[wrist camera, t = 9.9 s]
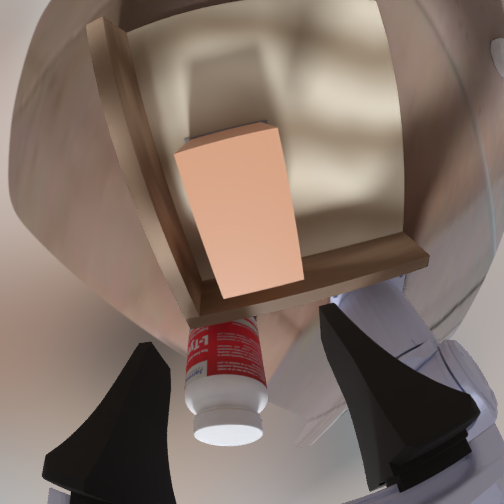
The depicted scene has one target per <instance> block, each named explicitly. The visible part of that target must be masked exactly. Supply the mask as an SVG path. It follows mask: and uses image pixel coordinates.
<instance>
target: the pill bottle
mask: <svg viewBox="0 0 504 504" xmlns="http://www.w3.org/2000/svg"><path fill="white" fill-rule="evenodd" d="M267 400H268V392H267V385H266V379H265V373H264V367H263V360H262V354H261V348H260V341H259V335H258V328H257V324H256V321H255V319H254V317H249V318H244V319H240V320H235V321H230V322H225V323H220V324H215V325H210V326H205V327H200V328H195V329H190V331H189V341H188V353H187V366H186V379H185V402H186V405H187V407H188V408H189V409H190V411H191V412H192V413H193V414H195V417H194V436H195V438H196V439H198V440H199V441H201V442H204V443H207V444H212V445H218V446H237V445H244V444H248V443H251V442H254V441H256V440H258V439H259V438H260V437H261V436H262V435H263V428H262V419H261V417H260V414H259V413H260V412H261V411H262V410H263V409H264V407H265V406H266V403H267Z"/></svg>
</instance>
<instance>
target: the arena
mask: <svg viewBox="0 0 504 504" xmlns="http://www.w3.org/2000/svg"><path fill="white" fill-rule="evenodd" d="M86 29H87V35H88V41H89V47H90V53H91V58H92V63H93V68H94V72H95V77H96V81H97V86H98V90H99V94H100V98H101V102H102V106H103V110H104V114H105V117H106V121H107V124H108V128H109V131H110V135H111V138H112V141H113V144H114V148H115V151H116V154H117V157H118V160H119V163H120V166H121V169H122V172H123V175H124V178H125V181H126V184H127V186H128V189H129V192H130V195H131V197H132V200H133V203H134V205H135V208H136V210H137V213H138V216H139V218H140V221H141V223H142V226H143V228H144V231H145V233H146V235H147V238H148V240H149V243H150V245H151V247H152V250H153V252H154V254H155V256H156V259H157V261H158V263H159V265H160V268H161V270H162V272H163V274H164V276H165V279H166V281H167V283H168V285H169V287H170V289H171V291H172V293H173V295H174V297H175V299H176V301H177V304H178V306H179V308H180V310H181V312H182V313H183V315H184V317H185V319H186V321H187V323H188V325H189V327H190V329H195V328H200V327H205V326H210V325H215V324H220V323H225V322H230V321H235V320H240V319H244V318H249V317H253V316H258V315H262V314H266V313H271V312H275V311H279V310H283V309H287V308H291V307H295V306H299V305H303V304H307V303H311V302H314V301H318V300H322V299H325V298H329V297H333V296H336V295H340V294H343V293H347V292H350V291H353V290H357V289H360V288H364V287H367V286H370V285H373V284H377V283H380V282H383V281H386V280H389V279H392V278H395V277H398V276H401V275H404V274H407V273H410V272H413V271H416V270H419V269H422V268H425V267H427V266H428V263H429V257H430V255H429V254H428V253H427V252H425V251H424V250H423V249H422V248H421V247H420V246H419V245H418V244H417V243H416V242H414V241H413V240H412V239H411V238H410V237H409V236H408V235H406V234H405V233H404V232H403V220H404V154H403V138H402V126H401V116H400V107H399V100H398V93H397V86H396V80H395V74H394V69H393V64H392V59H391V54H390V50H389V46H388V42H387V38H386V34H385V30H384V26H383V23H382V19H381V16H380V13H379V10H378V6H377V3H376V1H371V0H243V1H236V2H230V3H224V4H219V5H214V6H209V7H205V8H201V9H197V10H193V11H189V12H185V13H182V14H178V15H175V16H171V17H168V18H165V19H162V20H159V21H156V22H153V23H150V24H148V25H145V26H142V27H140V28H137V29H135V30H132V31H130V32H127V33H126V32H125V31H123V30H122V29H120V28H119V27H117V26H116V25H114V24H113V23H111V22H110V21H108V20H107V19H105V18H104V17H101V18H99V19H97V20H95V21H93V22H91V23H89V24H88V25H86ZM258 122H262V123H265V124H268V125H271V126H274V127H277V128H278V132H279V136H280V141H281V146H282V151H283V156H284V161H285V166H286V171H287V176H288V182H289V187H290V193H291V198H292V204H293V210H294V216H295V222H296V228H297V234H298V240H299V247H300V253H301V260H302V267H303V274H304V280H300V281H296V282H292V283H288V284H284V285H280V286H276V287H272V288H268V289H264V290H260V291H256V292H252V293H248V294H243V295H239V296H235V297H230V298H226V299H223V296H222V294H221V291H220V288H219V286H218V283H217V280H216V278H215V275H214V272H213V269H212V267H211V264H210V261H209V258H208V256H207V253H206V250H205V247H204V244H203V242H202V239H201V236H200V233H199V230H198V227H197V224H196V221H195V218H194V215H193V212H192V210H191V207H190V204H189V200H188V197H187V194H186V191H185V188H184V185H183V182H182V179H181V176H180V173H179V169H178V166H177V163H176V160H175V157H174V153H176V152H177V151H178V150H179V149H180V148H181V147H182V146H183V145H184V144H185V143H187V142H188V141H189V140H191V139H195V138H198V137H202V136H205V135H209V134H212V133H216V132H220V131H224V130H228V129H232V128H236V127H240V126H245V125H249V124H254V123H258Z"/></svg>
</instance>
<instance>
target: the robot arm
mask: <svg viewBox="0 0 504 504" xmlns="http://www.w3.org/2000/svg"><path fill="white" fill-rule="evenodd" d="M404 279H405V274H404V275H401V276H398V277H395V278H392V279H389V280H386V281H383V282H380V283H377V284H373V285H370V286H367V287H364V288H360V289H357V290H353V291H350V292H347V293H343V294H340V295H336V296H333V297H330V304H326V305H322V306H319V314H320V329H321V340H322V343H323V347H324V350H325V353H326V356H327V359H328V361H329V364H330V366H331V368H332V371H333V373H334V375H335V377H336V380H337V382H338V384H339V386H340V389H341V391H342V393H343V396H344V398H345V400H346V403H347V405H348V408H349V411H350V414H351V418H352V420H353V425H354V428H355V432H356V435H357V439H358V443H359V447H360V451H361V455H362V459H363V463H364V469H365V474H366V479H367V484H368V487H369V491H373V490H376V489H378V488H381V487H383V486H387V488H385V489H383V490H380V491H378V492H375V493H373V494H370V495H367V496H364V497H361V498H359V499H356V500H352V501H349V502H346V503H343V504H504V441H503V439H502V437H501V434H500V432H499V430H498V428H497V427H496V424H495V421H496V418H497V401H496V398H495V395H494V393H493V391H492V389H491V388H490V387H489V385H488V383H487V380H486V379H485V377H484V375H483V373H482V372H481V370H480V369H479V367H478V365H477V364H476V363H475V361H474V360H473V359H472V357H471V356H470V355H469V353H468V352H467V351H466V350H465V349H464V348H463V347H462V346H461V345H460V344H459V343H458V342H457V341H455V340H444V341H443V342H442V343H441V344H440V343H439V342H438V341H437V339H436V338H435V336H434V335H433V333H432V332H431V330H430V329H429V328H428V326H427V325H426V324H425V322H424V321H423V319H422V318H421V317H420V315H419V314H418V313H417V311H416V310H415V309H414V307H413V306H412V305H411V303H410V302H409V301H408V299H407V298H406V297H405V296H404V294H403V293H402V292H403V286H404ZM170 375H171V374H170V368H169V366H168V365H167V364H166V362H165V361H164V360H163V358H162V357H161V355H160V354H159V352H158V351H157V350H156V348H155V347H154V345H153V344H152V342H145V343H139V345H138V346H137V347H136V349H135V351H134V352H133V354H132V355H131V357H130V359H129V360H128V362H127V363H126V365H125V367H124V368H123V370H122V372H121V373H120V375H119V376H118V378H117V379H116V381H115V383H114V384H113V386H112V387H111V388H110V390H109V391H108V393H107V395H106V396H105V398H104V399H103V400H102V402H101V403H100V404H99V406H98V407H97V408H96V409H95V411H94V412H93V413H92V414H91V415H90V417H89V418H88V419H87V420H86V421H85V422H84V423H83V424H82V425H81V426H80V427H79V428H78V429H77V430H76V431H75V432H74V433H73V434H72V435H71V436H70V437H69V438H68V439H67V440H65V441H64V442H63V443H62V444H61V445H59V446H58V447H57V448H55V449H54V450H52V451H51V452H49V453H48V454H47V455H46V456H45V461H44V466H43V472H42V477H43V478H44V479H45V480H47V481H49V482H51V483H53V484H56V485H58V486H60V487H62V488H64V489H66V490H69V491H71V496H70V495H68V494H65V493H63V492H60V491H58V490H55V489H53V488H49V495H48V504H176V500H175V496H174V492H173V488H172V483H171V476H170V470H169V461H168V449H167V426H168V415H169V404H170V393H171V376H170Z"/></svg>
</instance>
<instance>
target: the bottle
mask: <svg viewBox="0 0 504 504" xmlns="http://www.w3.org/2000/svg"><path fill="white" fill-rule="evenodd" d="M491 55H492V59H493V62H494V65H495V67H496V69H497V71H498V72H499V74H500V75H501V76H502V77H503V78H504V38H497V39H495V40H493V41H492V42H491Z"/></svg>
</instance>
